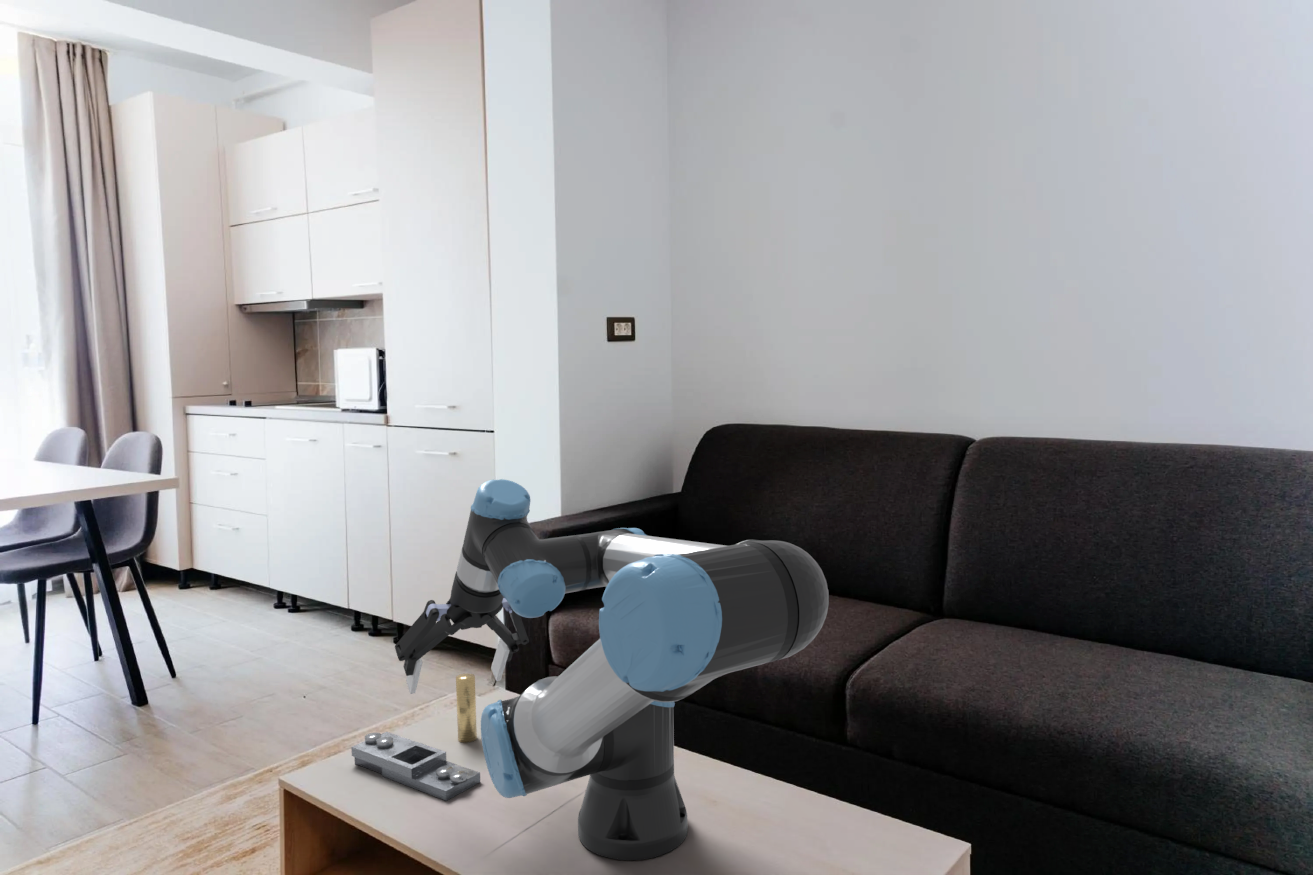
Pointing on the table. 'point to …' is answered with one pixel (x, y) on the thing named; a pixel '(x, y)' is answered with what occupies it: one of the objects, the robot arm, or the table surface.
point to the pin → (466, 708)
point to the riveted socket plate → (414, 765)
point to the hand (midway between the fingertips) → (454, 680)
